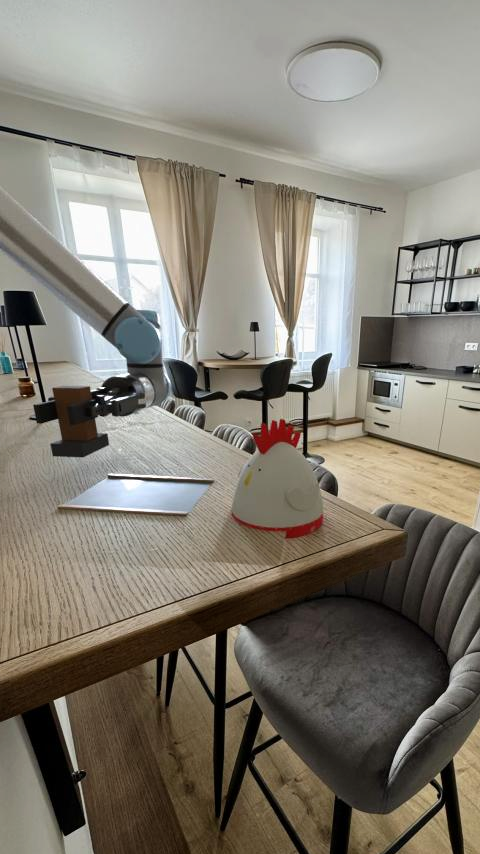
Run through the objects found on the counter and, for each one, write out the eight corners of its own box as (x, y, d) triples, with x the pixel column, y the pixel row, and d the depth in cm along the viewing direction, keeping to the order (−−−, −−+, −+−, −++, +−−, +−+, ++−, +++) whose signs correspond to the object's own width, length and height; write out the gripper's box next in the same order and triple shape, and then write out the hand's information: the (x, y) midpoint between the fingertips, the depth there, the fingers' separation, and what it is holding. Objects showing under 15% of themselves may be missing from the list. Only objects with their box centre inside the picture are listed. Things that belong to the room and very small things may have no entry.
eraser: (81, 444, 71) (71, 383, 67) (109, 445, 70) (100, 384, 66) (52, 456, 63) (39, 389, 60) (83, 457, 63) (71, 390, 59)
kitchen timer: (214, 514, 64) (209, 417, 58) (282, 495, 72) (283, 408, 66) (270, 548, 54) (271, 435, 48) (341, 521, 62) (349, 422, 57)
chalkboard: (58, 516, 62) (56, 506, 62) (110, 481, 77) (109, 473, 77) (186, 523, 60) (186, 513, 60) (214, 487, 75) (214, 478, 75)
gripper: (171, 415, 81) (115, 443, 60) (88, 411, 83) (3, 437, 61) (168, 376, 79) (108, 390, 57) (82, 373, 80) (-9, 386, 59)
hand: (54, 414), depth 59 cm, fingers closed on eraser, 4 cm apart
